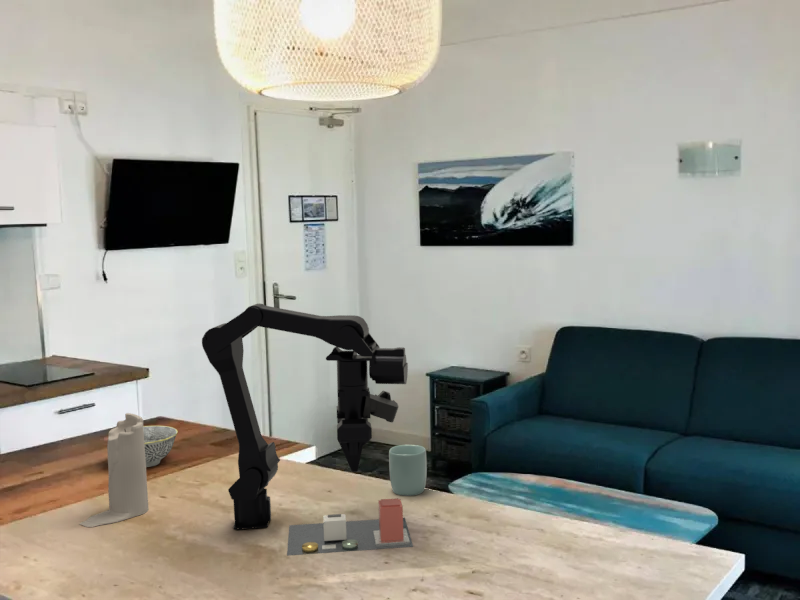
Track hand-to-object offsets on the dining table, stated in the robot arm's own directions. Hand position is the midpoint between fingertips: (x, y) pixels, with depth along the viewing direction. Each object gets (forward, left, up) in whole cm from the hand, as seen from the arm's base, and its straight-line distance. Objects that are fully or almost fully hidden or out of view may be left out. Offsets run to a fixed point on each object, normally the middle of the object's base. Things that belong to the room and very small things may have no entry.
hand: (354, 463), depth 158 cm
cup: (+12, +15, -12) cm, 23 cm away
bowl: (-49, +50, -12) cm, 71 cm away
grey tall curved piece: (-48, +14, -12) cm, 52 cm away
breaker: (-4, -9, -11) cm, 14 cm away
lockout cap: (+6, -11, -10) cm, 16 cm away
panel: (-2, -8, -12) cm, 14 cm away
